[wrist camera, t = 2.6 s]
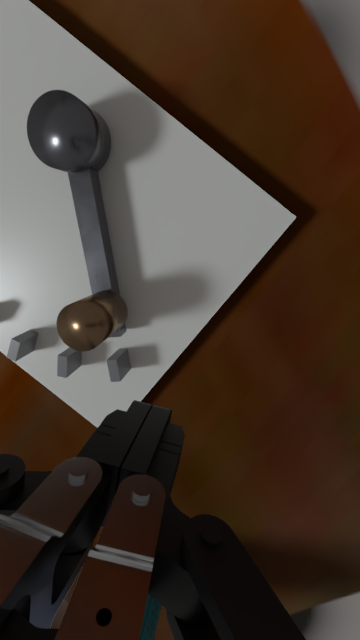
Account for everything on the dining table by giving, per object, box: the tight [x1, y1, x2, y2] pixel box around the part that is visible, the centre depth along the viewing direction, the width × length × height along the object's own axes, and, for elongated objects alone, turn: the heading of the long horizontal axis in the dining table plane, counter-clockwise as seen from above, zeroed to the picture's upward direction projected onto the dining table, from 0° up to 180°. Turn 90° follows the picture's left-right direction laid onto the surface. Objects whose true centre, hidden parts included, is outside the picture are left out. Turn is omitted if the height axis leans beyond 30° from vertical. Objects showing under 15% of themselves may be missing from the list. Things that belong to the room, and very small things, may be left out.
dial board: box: [0, 0, 296, 428], centre depth 26 cm, size 24×30×4 cm
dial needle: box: [27, 90, 128, 352], centre depth 22 cm, size 16×4×6 cm, turn 8°
